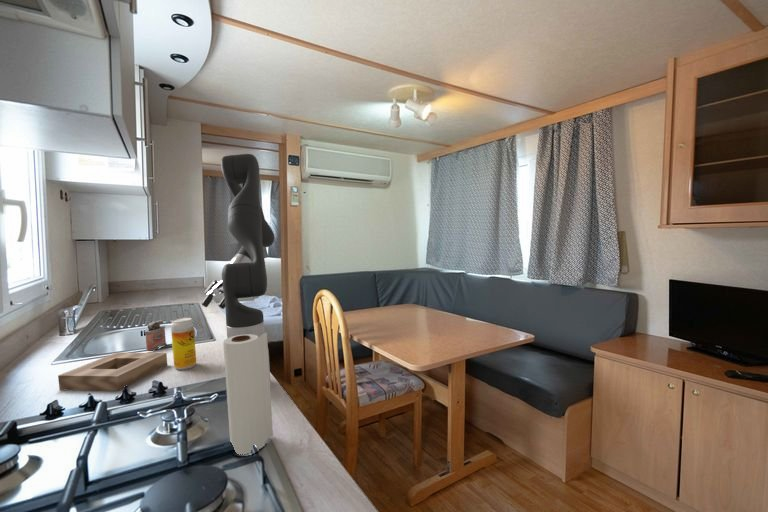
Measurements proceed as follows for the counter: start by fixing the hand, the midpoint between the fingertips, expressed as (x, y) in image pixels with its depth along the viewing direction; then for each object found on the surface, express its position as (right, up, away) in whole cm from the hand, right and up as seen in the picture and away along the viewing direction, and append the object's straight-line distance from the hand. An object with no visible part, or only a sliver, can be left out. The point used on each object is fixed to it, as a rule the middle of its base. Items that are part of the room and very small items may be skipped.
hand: (212, 306), depth 118 cm
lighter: (-26, -17, +11) cm, 33 cm away
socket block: (-21, -19, -14) cm, 32 cm away
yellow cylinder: (-4, -18, -8) cm, 20 cm away
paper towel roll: (+33, -20, -52) cm, 65 cm away
